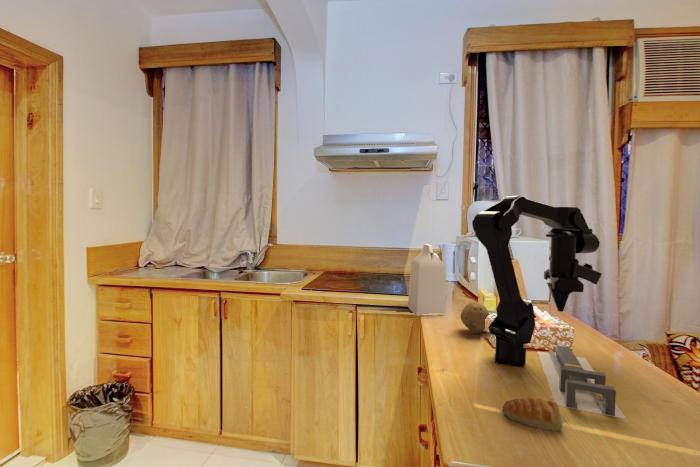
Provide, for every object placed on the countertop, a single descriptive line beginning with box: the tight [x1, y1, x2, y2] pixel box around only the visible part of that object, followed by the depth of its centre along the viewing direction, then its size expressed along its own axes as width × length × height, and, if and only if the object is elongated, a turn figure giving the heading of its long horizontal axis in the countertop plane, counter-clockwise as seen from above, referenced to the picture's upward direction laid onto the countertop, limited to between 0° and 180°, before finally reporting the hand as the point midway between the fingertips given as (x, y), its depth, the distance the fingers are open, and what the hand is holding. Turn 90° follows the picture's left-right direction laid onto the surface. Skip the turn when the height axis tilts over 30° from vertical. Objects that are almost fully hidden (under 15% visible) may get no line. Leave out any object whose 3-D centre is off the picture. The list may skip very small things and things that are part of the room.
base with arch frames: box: [536, 349, 627, 420], centre depth 76 cm, size 11×28×5 cm, turn 157°
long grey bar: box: [555, 345, 587, 382], centre depth 80 cm, size 3×17×3 cm, turn 157°
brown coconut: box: [460, 301, 491, 334], centre depth 107 cm, size 9×9×10 cm
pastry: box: [502, 396, 564, 432], centre depth 62 cm, size 9×7×4 cm
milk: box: [407, 243, 448, 317], centre depth 131 cm, size 12×12×26 cm
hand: (560, 311), depth 91 cm, fingers closed
